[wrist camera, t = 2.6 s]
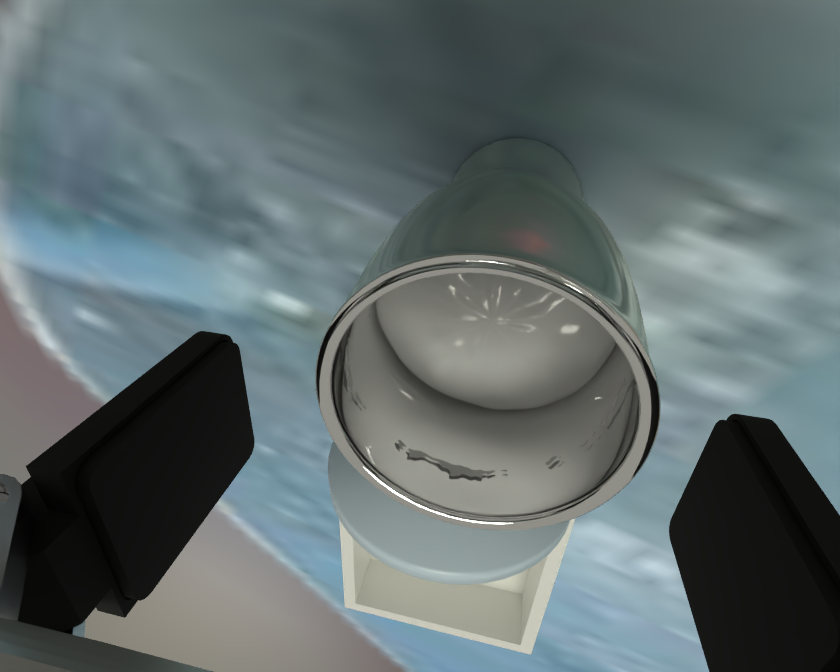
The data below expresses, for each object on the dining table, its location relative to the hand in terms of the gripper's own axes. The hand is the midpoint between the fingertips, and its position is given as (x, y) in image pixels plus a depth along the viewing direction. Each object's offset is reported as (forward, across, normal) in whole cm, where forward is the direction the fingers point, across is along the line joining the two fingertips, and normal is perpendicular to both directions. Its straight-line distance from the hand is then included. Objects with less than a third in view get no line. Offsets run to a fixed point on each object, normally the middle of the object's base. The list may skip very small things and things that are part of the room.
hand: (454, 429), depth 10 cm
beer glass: (+15, -1, -1) cm, 15 cm away
